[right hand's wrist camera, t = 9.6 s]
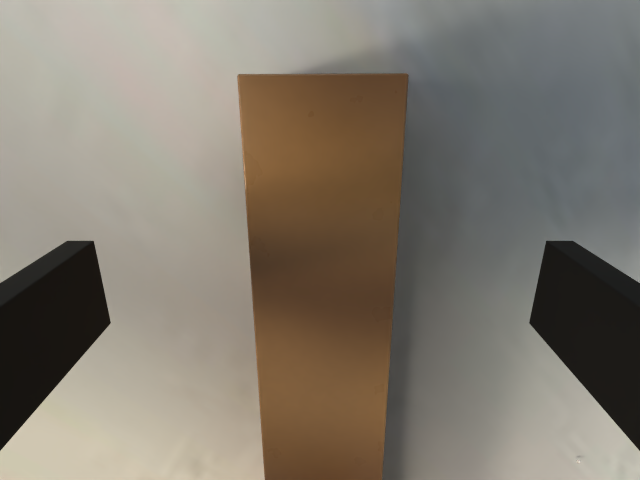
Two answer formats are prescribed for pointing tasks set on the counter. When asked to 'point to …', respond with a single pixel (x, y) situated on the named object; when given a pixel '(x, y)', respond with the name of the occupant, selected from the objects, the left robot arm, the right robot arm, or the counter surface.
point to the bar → (323, 264)
